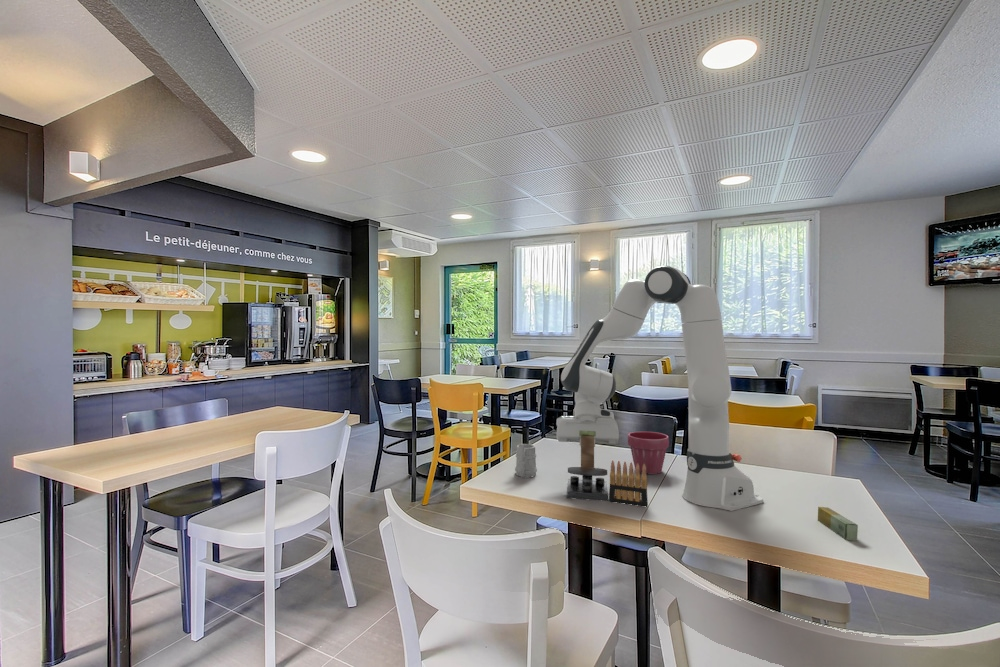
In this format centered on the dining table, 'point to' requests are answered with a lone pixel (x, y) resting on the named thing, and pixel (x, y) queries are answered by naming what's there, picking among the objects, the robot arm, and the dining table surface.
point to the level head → (587, 457)
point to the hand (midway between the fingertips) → (587, 453)
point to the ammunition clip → (628, 485)
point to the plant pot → (648, 450)
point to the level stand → (587, 488)
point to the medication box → (838, 523)
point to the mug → (525, 460)
